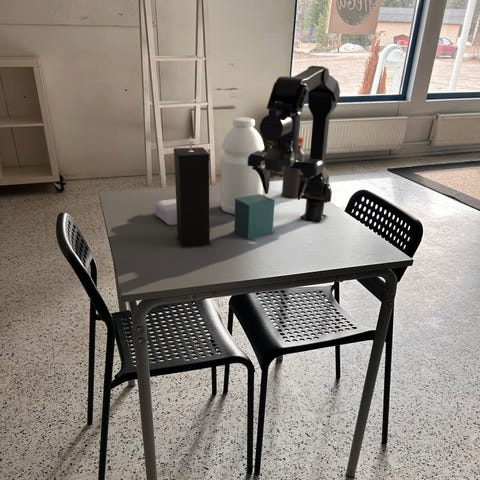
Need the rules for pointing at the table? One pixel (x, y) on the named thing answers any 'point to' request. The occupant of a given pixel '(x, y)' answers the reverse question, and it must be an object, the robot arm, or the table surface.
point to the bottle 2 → (292, 176)
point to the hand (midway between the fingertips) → (282, 196)
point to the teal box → (254, 216)
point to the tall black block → (192, 195)
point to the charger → (167, 211)
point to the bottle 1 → (239, 163)
